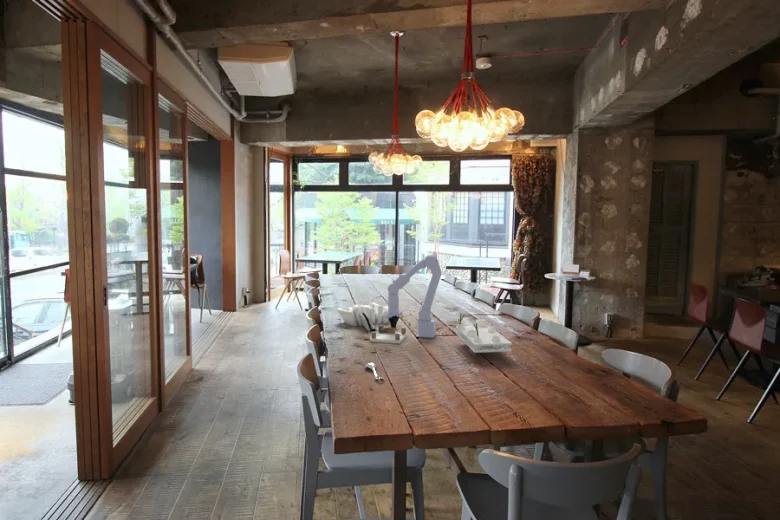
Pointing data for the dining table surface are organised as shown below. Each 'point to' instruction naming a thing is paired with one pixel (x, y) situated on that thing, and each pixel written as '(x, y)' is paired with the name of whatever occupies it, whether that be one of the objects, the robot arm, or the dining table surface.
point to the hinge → (366, 321)
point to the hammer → (386, 329)
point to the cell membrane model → (482, 337)
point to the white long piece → (372, 366)
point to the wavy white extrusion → (352, 315)
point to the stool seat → (389, 336)
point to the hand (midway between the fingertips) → (393, 329)
